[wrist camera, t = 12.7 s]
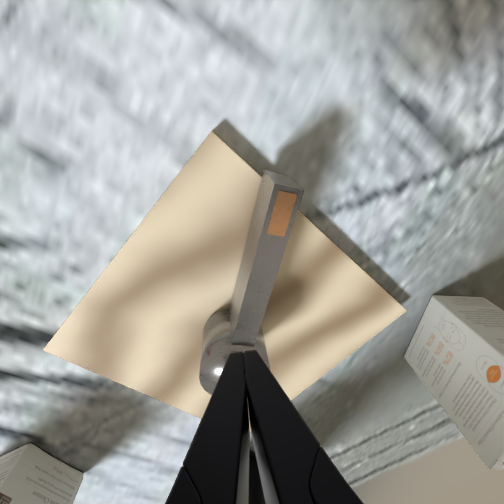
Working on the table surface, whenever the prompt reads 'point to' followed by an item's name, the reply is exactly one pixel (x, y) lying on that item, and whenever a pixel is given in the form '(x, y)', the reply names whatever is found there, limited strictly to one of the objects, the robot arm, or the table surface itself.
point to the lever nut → (252, 279)
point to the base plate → (217, 291)
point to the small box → (465, 368)
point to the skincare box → (36, 478)
